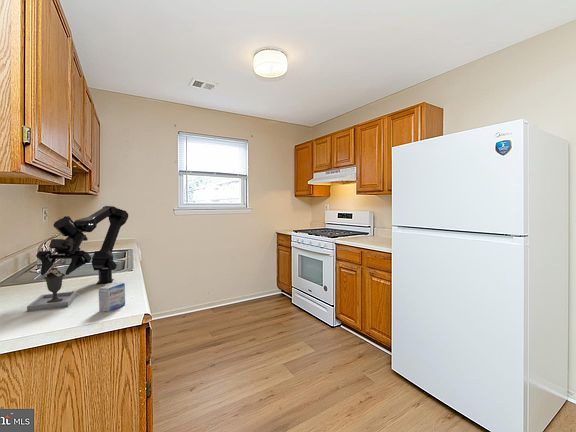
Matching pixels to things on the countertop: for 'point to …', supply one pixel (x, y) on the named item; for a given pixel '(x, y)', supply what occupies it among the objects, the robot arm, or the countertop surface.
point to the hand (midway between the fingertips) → (54, 274)
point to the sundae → (54, 283)
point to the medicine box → (111, 297)
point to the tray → (43, 305)
